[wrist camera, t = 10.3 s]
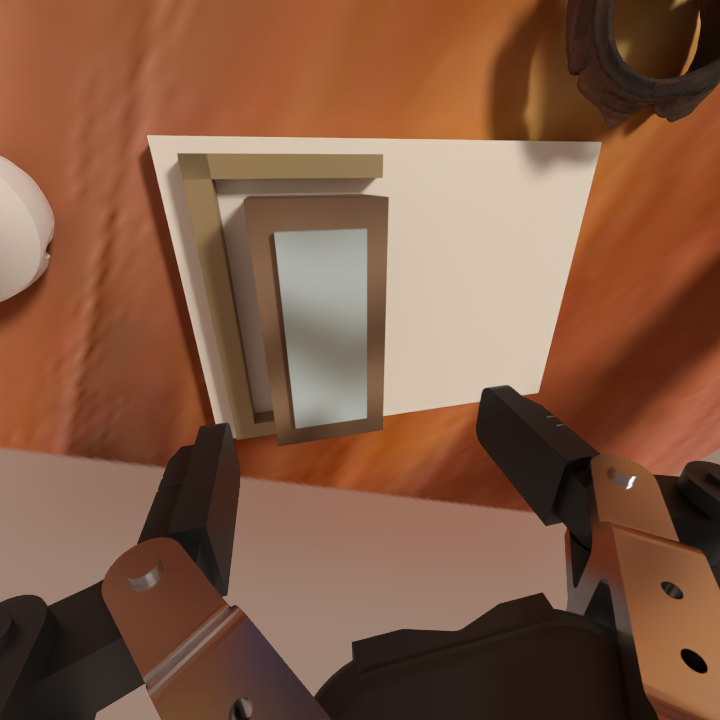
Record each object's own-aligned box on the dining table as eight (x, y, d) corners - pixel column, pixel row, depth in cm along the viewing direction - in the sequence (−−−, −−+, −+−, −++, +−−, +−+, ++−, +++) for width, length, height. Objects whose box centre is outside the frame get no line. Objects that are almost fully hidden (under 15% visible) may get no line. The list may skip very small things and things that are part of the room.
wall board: (585, 143, 21) (620, 139, 19) (528, 385, 29) (548, 400, 27) (154, 138, 17) (138, 132, 15) (221, 429, 24) (217, 452, 22)
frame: (248, 195, 18) (242, 199, 13) (362, 194, 19) (390, 197, 14) (276, 400, 23) (278, 449, 19) (363, 388, 24) (384, 433, 20)
